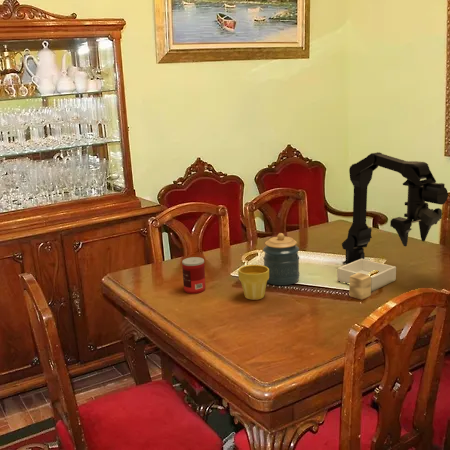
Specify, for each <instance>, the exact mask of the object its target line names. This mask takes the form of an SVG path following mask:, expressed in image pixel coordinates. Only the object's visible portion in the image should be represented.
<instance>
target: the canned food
mask: <svg viewBox="0 0 450 450" xmlns="http://www.w3.org/2000/svg"><path fill="white" fill-rule="evenodd" d="M181 265H182V266H181V267H182V279H183V280H182V282H183V291H184V292H185V293H187V294H193V295H194V294H195V295H196V294H200V293H203V292H204V291H205V290H206V269H205V259H204V258H203V257H197V256H195V257H194V256H192V257H187V258H184V259H182V262H181Z"/></svg>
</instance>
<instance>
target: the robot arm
mask: <svg viewBox="0 0 450 450" xmlns="http://www.w3.org/2000/svg"><path fill="white" fill-rule="evenodd" d="M378 167H380V168H383V169H387V170H391V171H393V172H396V173H399V174H400V175H401V176H402V177H403V178H405V179H406V180H405V181H404V182H403V183H402V186H405V187H407V199H406V200H407V201H405V202H404V206H406V213H403V214H404V215H403V217H401V216H398V217H394V218H391V219H390V222H389V223H390V227H391V228H393V229H394V230H395V231H396V233H397V234H398V237H399V239H400V241H401V243H402V246H403V247H407V246H408V240H409V233H410V232H411V231H412V228H411V227H412V225H413V224H415V223H418V227H419V234H420V239H421V241H422V242H425V241H426V240H427V236H428V234H429V232H430V229H432V226H434V225H437V224H438V222H440V220H441V219H442V216H443V210H442V209H441V208H439V207H438V208H434V209H433V208H429V203H431V204H434V205H435V204H436V205H439V206H440V205H445V203H446V202H447V200H448V198H449V192H448V189H447V188H446V187H445V185H446V184H445V183H443V182H441V183H440V182H439V183H438V182H437V181H436V178H435V176H434V175H433V173H432V171H431V169H430V166H429V164H428V163H427V162H425V161H416V160H415V161H413V160H411V161H410V160H409V161H408V160H403V159H400V158H397V157H394V156H391V155H387V154H384V153H382V152H380V151H379V152H378V151H377V152H371V153H369V155H367V156H366V157H364V158H362V159H360V160H359V161H357V162H356V163H352V164H351V165H350V166H349V170H348V173H349V180H350V182H351V184H352V186H353V200H352V204H353V205H352V207H353V208H352V223H351V225H350V227H349V229H348V232H347V237H346V239H345V240H343V242H342V243H341V246H342V249H343V250H345V260H344V261H343V262H342V263H343V264H345V265H347V264H349V263H352V262H354V261H356V260H359V259H361V258H362V259H365V257H366V256H365V248H367V247H368V244H369V243H370V242H371V239H373V237H372V230H373V229H372V228H371V227H369V225H368V224H367V209H368V208H367V206H368V203H367V202H368V186H369V184H370V183H371V181H372V179H373V173H374V171H376V169H378Z"/></svg>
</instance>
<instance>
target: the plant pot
mask: <svg viewBox="0 0 450 450" xmlns="http://www.w3.org/2000/svg"><path fill="white" fill-rule="evenodd" d="M237 273H238V274H237V275H238V280H239V281H240V283H241V287H242V291H243V294H244V295H243V296H244V298H246V299H248V300H253V301H255V300H261V299H264V297H265V294H266V289H267V288H266V287H267V284H268V283H267V280H268V279H269V268H268V267H266V266H264V265H261V264H247V265H244V266H240V267H239V268H238V269H237Z"/></svg>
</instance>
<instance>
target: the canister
mask: <svg viewBox="0 0 450 450" xmlns="http://www.w3.org/2000/svg"><path fill="white" fill-rule="evenodd" d="M264 243H265V246H264V247H263V248H262V251H263V252H264V256H263V266H266V267H268V268H269V279H268V280H267V284H269V285H275V286H289V285H293V284H296V283H297V282H298V281H299V280H300V263H299V262H300V261H299V260H300V256H299V253H298V252H299V251H300V247H299V246H297V244H298V241H296V240H295V239H293V237H291V236H290V237H289V236H285V233H282V232H279V233H278V234H277V236H272V237H271V238H269V239H268V240H266V241H265V242H264ZM295 282H296V283H295Z"/></svg>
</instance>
